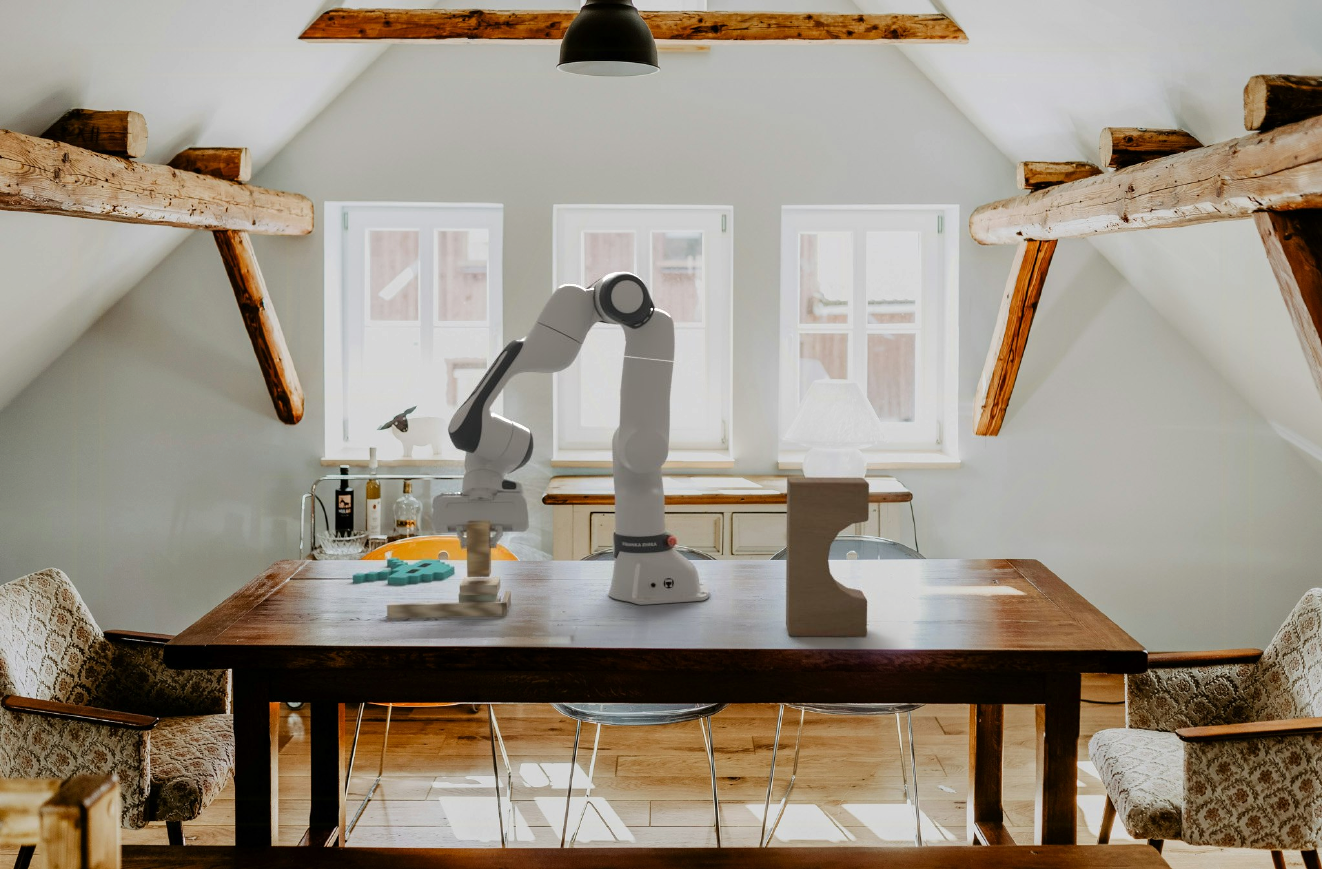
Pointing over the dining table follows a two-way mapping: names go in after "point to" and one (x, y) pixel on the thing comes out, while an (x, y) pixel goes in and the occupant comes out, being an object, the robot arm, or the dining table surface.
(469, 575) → the oak post
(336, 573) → the dining table surface
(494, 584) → the offcut stack
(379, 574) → the alien figure
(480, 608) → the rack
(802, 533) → the decorative block
